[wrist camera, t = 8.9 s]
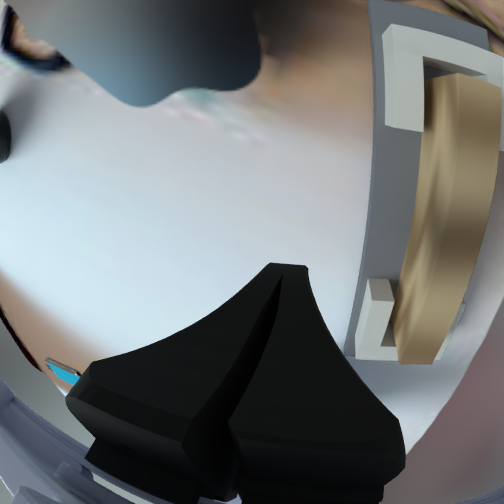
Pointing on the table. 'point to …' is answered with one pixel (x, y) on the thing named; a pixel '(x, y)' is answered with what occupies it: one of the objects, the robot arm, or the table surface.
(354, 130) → the table surface
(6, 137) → the supplement bottle
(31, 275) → the table surface
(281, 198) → the table surface
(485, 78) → the cradle
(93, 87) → the table surface
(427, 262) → the slat
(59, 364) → the phone stand
